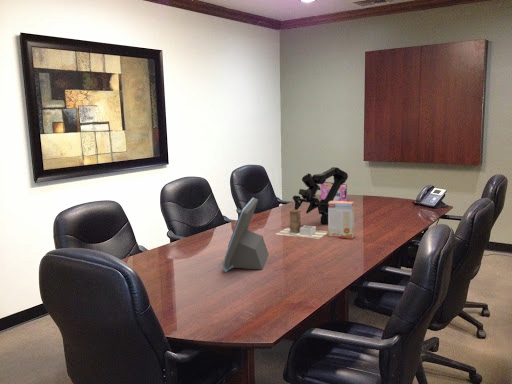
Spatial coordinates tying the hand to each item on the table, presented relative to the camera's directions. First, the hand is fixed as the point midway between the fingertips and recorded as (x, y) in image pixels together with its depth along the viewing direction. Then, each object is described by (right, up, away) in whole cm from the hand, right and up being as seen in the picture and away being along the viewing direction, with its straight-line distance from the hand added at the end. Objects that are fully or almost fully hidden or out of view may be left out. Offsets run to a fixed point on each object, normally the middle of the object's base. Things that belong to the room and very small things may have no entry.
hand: (300, 212), depth 293 cm
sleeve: (+4, -13, -7) cm, 15 cm away
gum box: (+37, +6, +103) cm, 109 cm away
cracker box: (+22, -14, -14) cm, 30 cm away
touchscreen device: (-32, -22, -55) cm, 67 cm away
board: (+1, -13, -4) cm, 14 cm away
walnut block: (-3, -12, -2) cm, 12 cm away
